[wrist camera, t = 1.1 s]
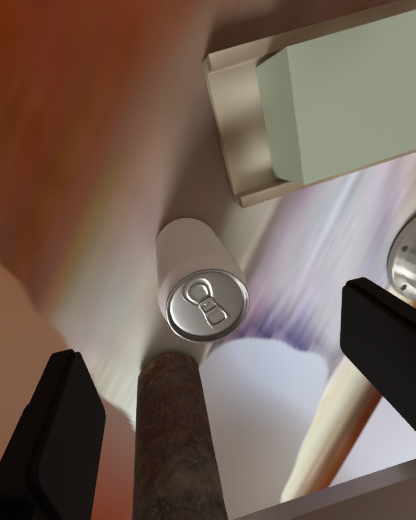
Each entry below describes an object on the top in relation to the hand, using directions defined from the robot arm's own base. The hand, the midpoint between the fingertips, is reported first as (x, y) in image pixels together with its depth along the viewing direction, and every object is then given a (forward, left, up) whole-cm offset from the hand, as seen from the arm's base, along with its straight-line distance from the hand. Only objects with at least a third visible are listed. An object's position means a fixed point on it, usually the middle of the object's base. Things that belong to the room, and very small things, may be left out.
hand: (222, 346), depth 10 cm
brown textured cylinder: (-19, +7, -20) cm, 28 cm away
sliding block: (+5, -16, -19) cm, 25 cm away
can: (-4, 0, -20) cm, 21 cm away
